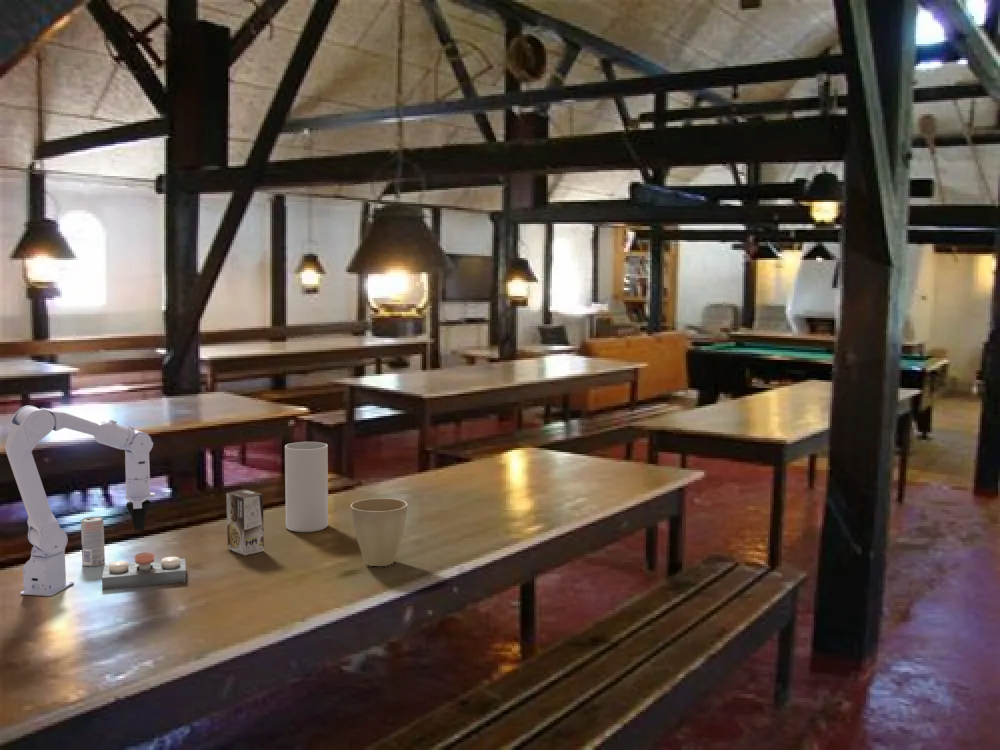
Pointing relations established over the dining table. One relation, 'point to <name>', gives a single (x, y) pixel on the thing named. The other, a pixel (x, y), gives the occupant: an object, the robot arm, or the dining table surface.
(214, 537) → the dining table surface
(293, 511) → the cylinder vase
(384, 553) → the plant pot
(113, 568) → the near cap
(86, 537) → the energy drink
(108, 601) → the dining table surface
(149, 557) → the middle cap
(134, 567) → the mount
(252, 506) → the coffee box
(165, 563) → the far cap
